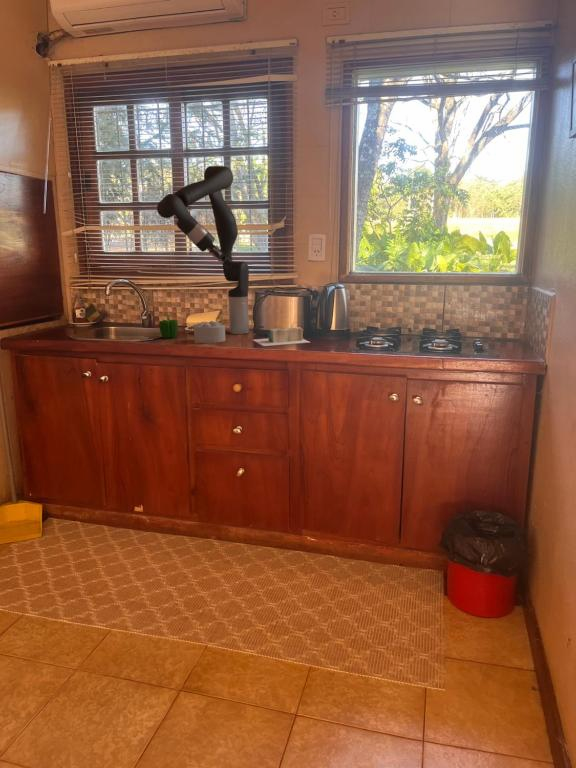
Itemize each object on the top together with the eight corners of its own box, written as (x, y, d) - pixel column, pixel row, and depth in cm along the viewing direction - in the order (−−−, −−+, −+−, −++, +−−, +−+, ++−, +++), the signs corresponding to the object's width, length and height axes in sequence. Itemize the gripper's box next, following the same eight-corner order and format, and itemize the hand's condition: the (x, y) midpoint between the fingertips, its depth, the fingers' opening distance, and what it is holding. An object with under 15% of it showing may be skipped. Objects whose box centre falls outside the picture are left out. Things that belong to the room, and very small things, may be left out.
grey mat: (252, 341, 239) (252, 339, 239) (296, 337, 246) (296, 336, 246) (263, 347, 224) (263, 345, 224) (310, 343, 232) (310, 342, 232)
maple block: (268, 329, 234) (298, 327, 239) (268, 340, 236) (298, 338, 241) (272, 331, 230) (302, 328, 235) (272, 342, 231) (302, 340, 236)
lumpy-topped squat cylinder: (201, 339, 245) (200, 320, 243) (228, 340, 242) (228, 320, 240) (192, 343, 235) (191, 323, 233) (221, 344, 232) (220, 324, 230)
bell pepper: (175, 339, 245) (173, 317, 243) (157, 339, 246) (156, 316, 244) (181, 336, 253) (180, 314, 251) (164, 335, 254) (163, 314, 252)
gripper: (210, 229, 213) (241, 261, 220) (203, 230, 225) (232, 260, 232) (197, 243, 212) (229, 275, 220) (190, 243, 224) (221, 273, 232)
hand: (231, 267), depth 226 cm, fingers closed
